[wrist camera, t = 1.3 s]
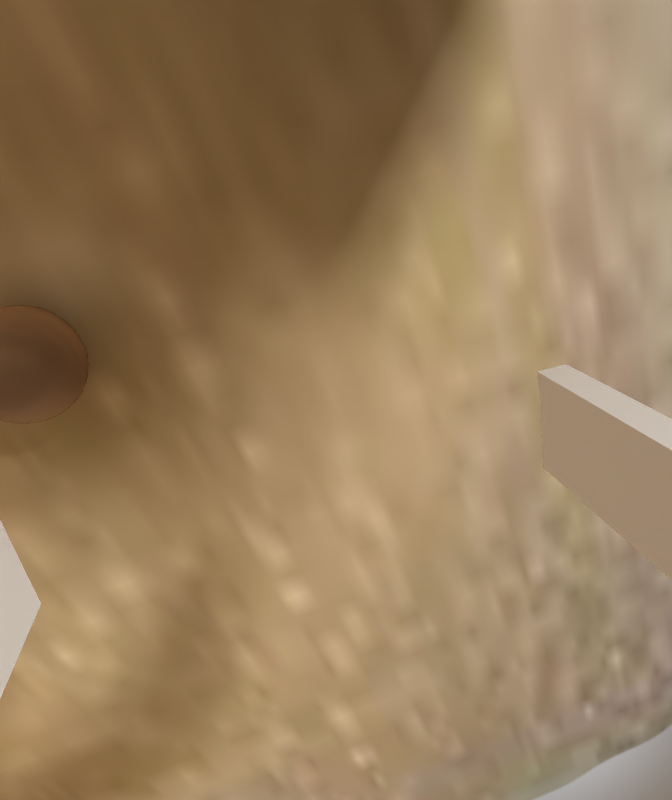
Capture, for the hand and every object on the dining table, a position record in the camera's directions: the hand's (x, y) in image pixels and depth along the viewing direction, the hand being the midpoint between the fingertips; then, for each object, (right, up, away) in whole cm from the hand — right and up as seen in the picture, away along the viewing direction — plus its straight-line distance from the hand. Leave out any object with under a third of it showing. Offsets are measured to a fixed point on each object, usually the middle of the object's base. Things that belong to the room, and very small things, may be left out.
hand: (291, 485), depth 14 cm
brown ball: (-14, +4, +13) cm, 19 cm away
